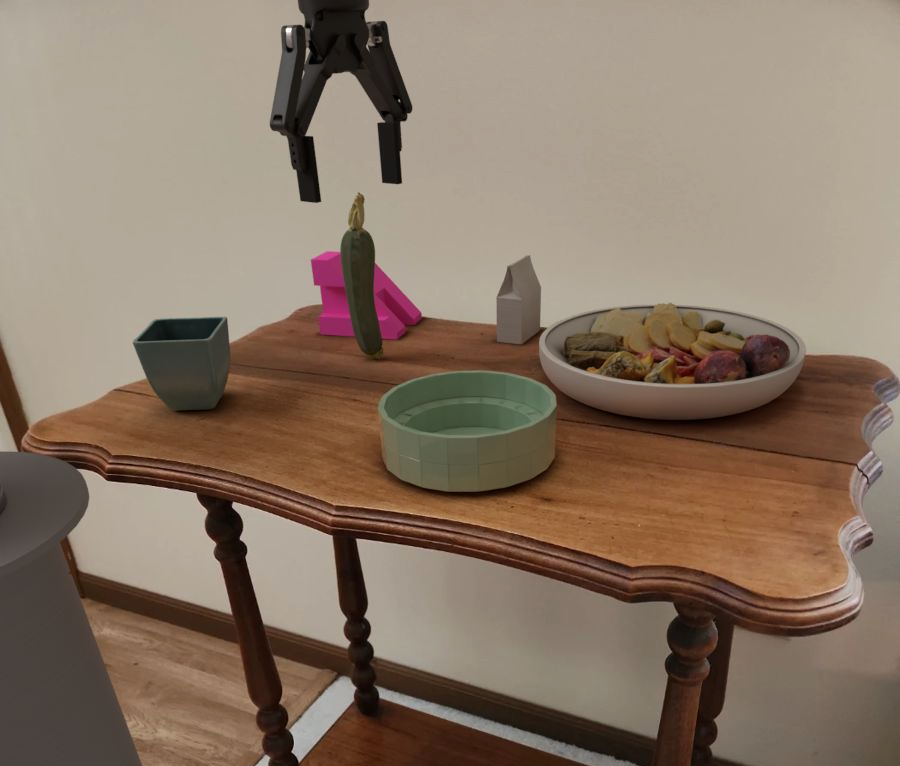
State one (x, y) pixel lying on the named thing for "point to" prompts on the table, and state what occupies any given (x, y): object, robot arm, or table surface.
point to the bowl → (671, 360)
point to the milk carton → (518, 303)
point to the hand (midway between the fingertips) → (353, 192)
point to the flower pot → (186, 360)
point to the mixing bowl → (468, 430)
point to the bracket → (336, 316)
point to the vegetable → (361, 281)
